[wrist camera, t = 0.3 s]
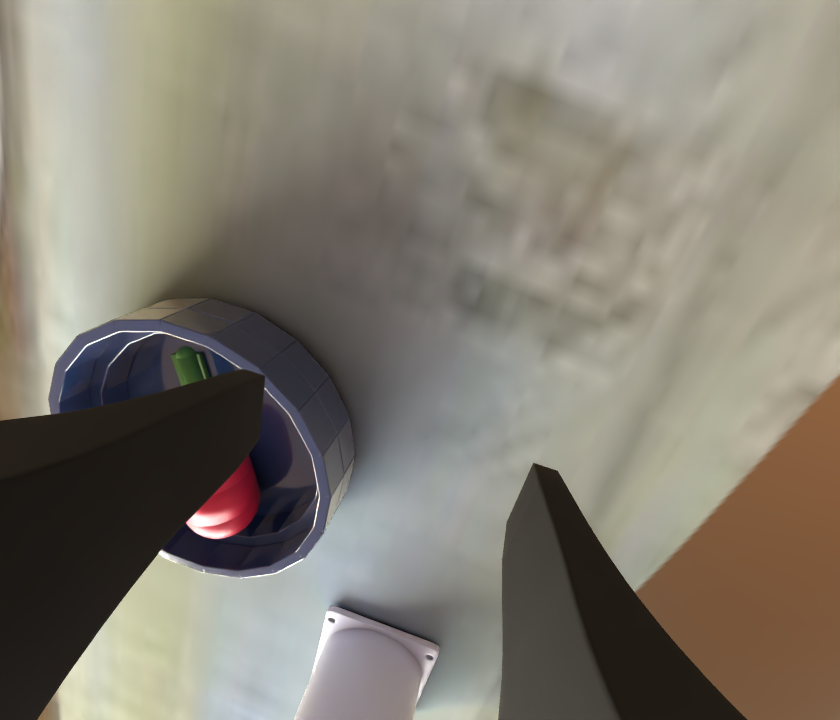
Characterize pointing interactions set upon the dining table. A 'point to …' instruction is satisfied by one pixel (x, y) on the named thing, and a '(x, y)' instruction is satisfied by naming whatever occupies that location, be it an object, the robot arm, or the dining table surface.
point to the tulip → (241, 490)
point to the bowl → (280, 425)
